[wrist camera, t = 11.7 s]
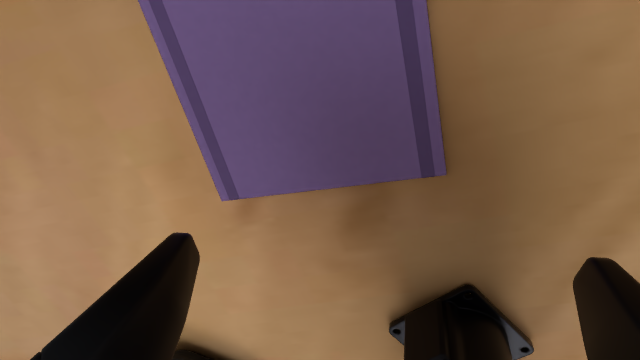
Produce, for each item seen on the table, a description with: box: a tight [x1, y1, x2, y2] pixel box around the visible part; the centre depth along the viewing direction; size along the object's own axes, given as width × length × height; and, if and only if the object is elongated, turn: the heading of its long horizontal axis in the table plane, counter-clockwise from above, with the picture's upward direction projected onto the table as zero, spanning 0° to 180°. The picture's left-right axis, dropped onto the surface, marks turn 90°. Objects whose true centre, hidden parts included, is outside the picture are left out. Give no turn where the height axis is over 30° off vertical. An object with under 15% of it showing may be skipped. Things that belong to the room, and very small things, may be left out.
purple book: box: [138, 0, 446, 201], centre depth 18 cm, size 18×13×1 cm
